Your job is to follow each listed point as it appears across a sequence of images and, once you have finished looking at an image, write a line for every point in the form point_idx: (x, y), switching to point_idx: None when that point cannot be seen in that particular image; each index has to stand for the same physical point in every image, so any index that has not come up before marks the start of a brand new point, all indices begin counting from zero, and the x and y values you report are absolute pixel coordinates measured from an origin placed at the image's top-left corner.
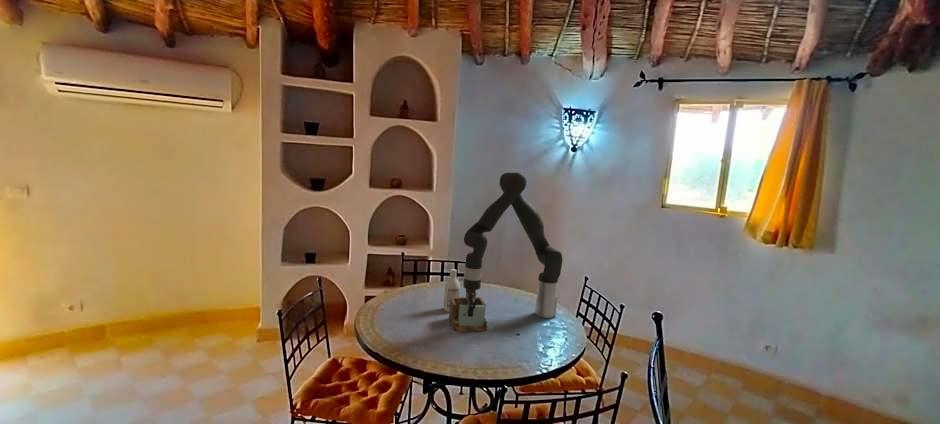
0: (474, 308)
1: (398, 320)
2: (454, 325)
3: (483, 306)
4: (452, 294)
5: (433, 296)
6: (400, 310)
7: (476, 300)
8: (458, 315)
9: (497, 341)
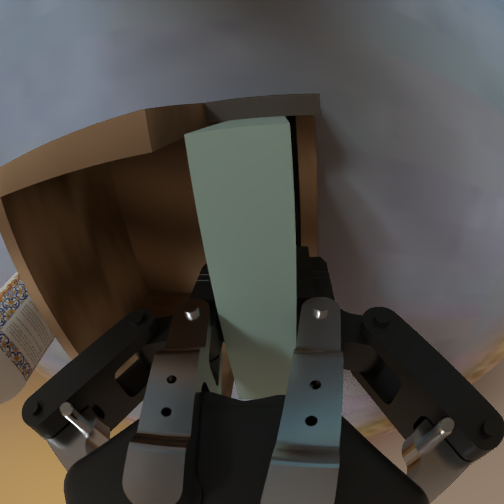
0: (391, 315)
1: None
2: None
3: (254, 153)
4: (32, 344)
5: None
6: None
7: (499, 417)
8: (132, 269)
9: (458, 76)
